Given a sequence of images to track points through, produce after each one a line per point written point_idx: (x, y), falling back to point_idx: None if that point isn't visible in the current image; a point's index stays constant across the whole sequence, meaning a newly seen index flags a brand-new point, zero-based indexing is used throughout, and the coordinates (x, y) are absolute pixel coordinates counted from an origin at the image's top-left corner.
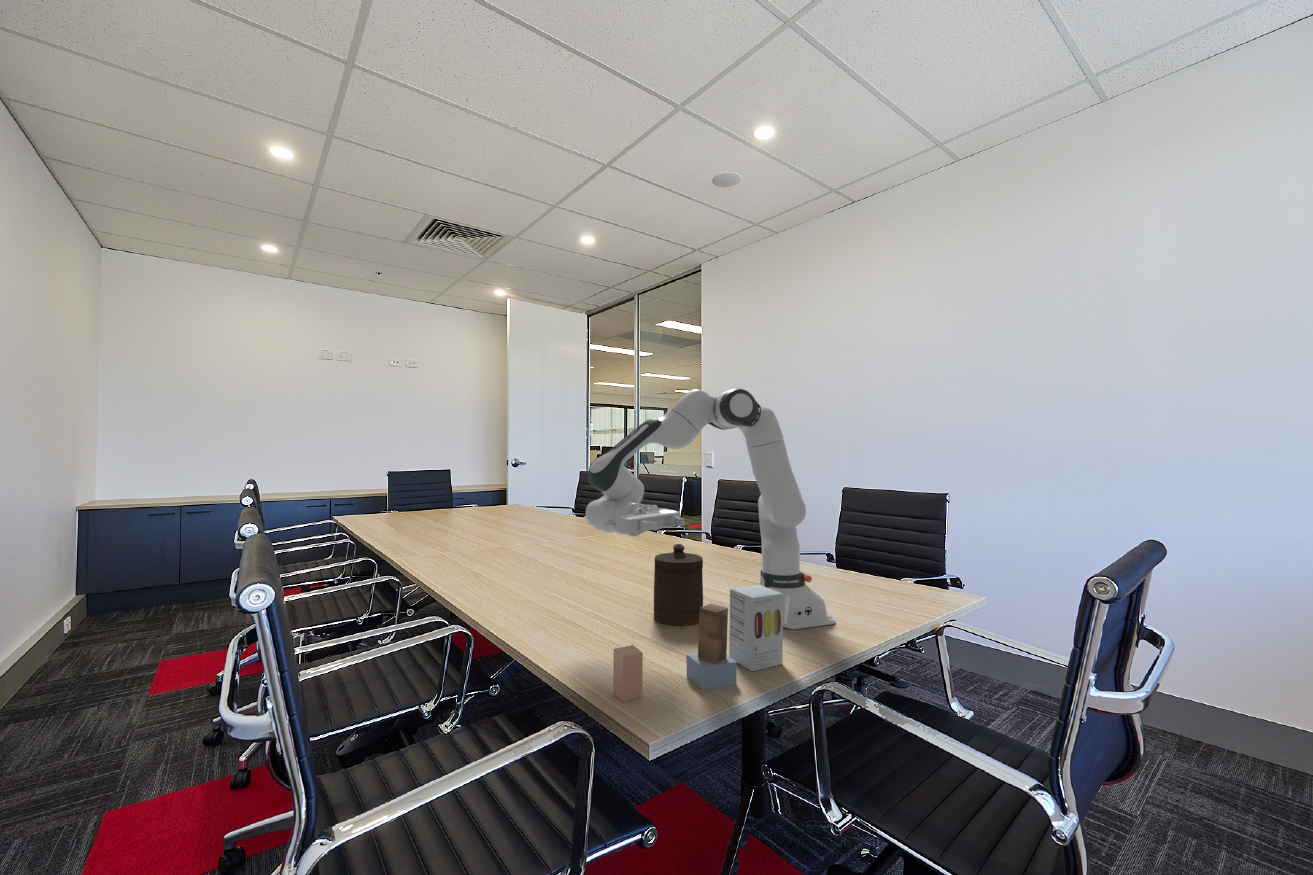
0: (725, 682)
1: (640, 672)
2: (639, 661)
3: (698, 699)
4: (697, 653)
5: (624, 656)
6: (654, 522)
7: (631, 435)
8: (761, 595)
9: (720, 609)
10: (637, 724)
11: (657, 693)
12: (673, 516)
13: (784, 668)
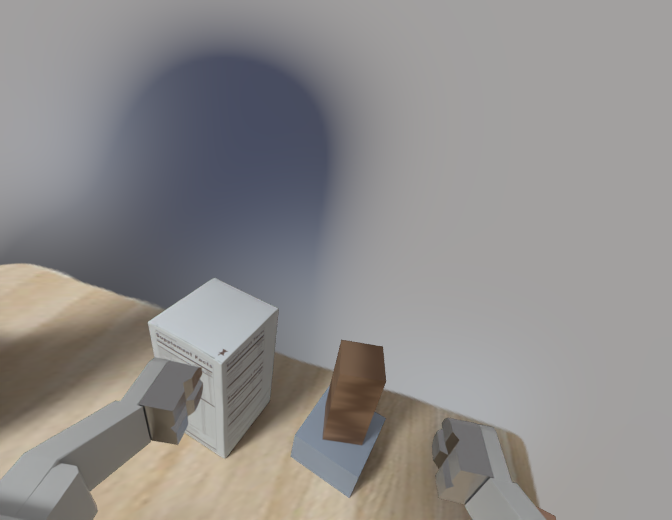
0: None
1: None
2: None
3: (403, 434)
4: (339, 459)
5: (550, 514)
6: (482, 446)
7: None
8: (253, 299)
9: (360, 347)
10: (519, 475)
11: (440, 507)
12: (27, 491)
13: None
